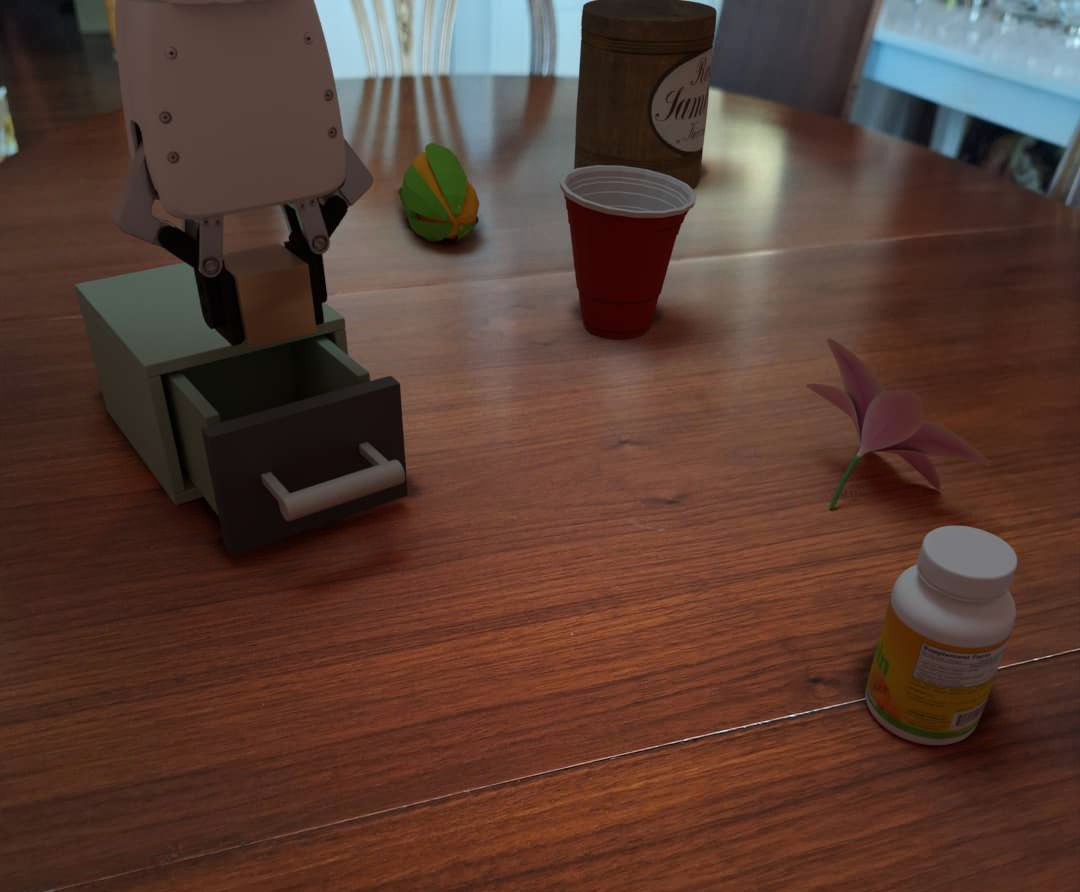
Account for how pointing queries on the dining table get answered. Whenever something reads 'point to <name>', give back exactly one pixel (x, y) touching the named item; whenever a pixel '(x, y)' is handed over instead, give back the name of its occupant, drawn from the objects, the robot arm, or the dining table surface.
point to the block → (272, 294)
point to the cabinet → (159, 355)
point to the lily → (890, 420)
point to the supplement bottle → (943, 637)
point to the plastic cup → (622, 242)
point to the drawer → (287, 439)
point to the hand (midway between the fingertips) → (268, 323)
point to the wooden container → (644, 85)
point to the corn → (439, 196)
